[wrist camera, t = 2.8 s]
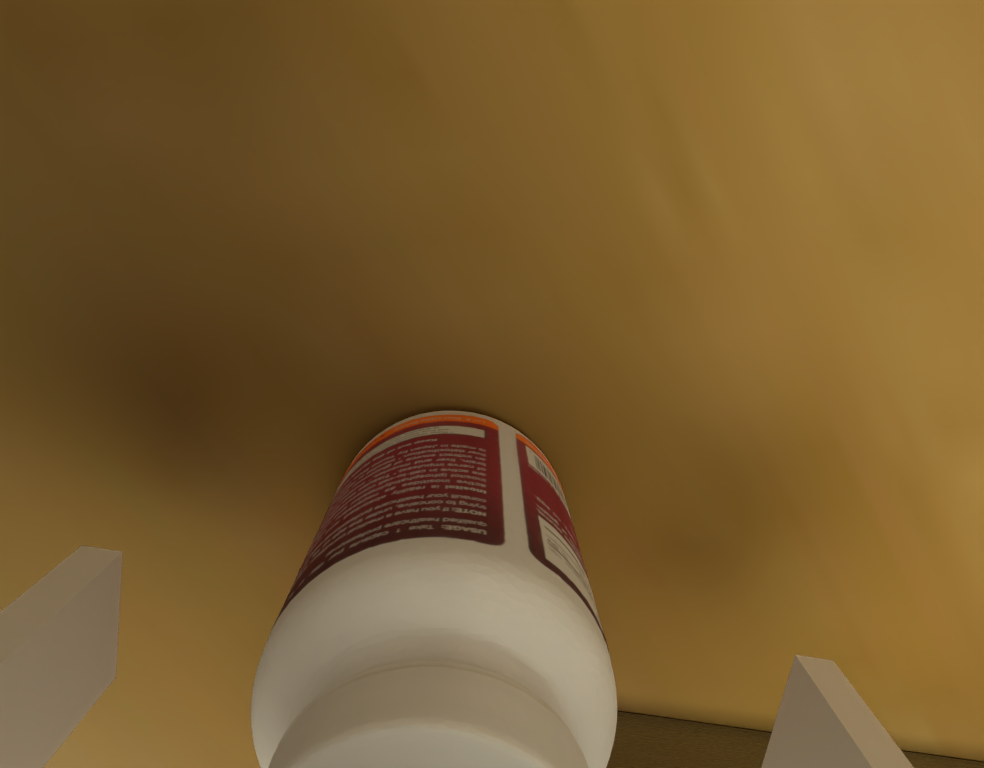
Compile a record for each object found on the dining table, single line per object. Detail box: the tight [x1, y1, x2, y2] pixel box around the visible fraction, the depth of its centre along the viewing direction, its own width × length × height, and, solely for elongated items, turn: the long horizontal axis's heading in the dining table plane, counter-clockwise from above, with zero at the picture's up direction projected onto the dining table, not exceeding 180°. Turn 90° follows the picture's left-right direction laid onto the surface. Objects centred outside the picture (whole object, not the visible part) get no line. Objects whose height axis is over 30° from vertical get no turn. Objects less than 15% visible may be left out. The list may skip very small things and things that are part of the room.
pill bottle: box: [251, 411, 617, 768], centre depth 15 cm, size 6×6×11 cm
